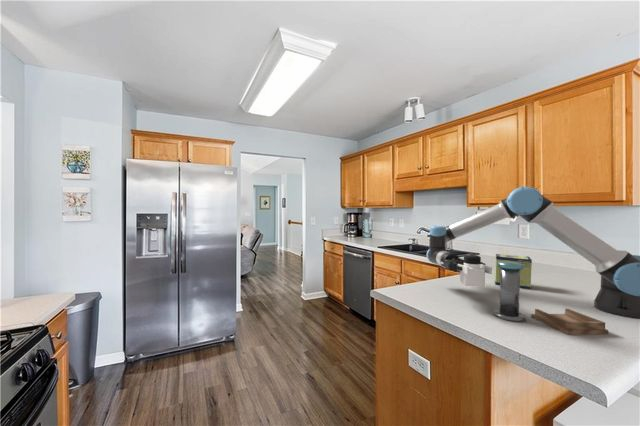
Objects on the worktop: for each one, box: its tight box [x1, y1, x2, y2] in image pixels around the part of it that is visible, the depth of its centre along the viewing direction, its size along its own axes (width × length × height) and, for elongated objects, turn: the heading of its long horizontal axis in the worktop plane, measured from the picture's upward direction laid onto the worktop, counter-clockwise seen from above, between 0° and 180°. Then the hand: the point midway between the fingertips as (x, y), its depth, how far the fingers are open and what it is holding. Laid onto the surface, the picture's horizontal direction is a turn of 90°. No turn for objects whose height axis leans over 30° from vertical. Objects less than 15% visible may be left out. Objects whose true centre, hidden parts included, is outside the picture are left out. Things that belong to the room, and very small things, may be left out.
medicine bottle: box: [459, 254, 486, 288], centre depth 111 cm, size 7×7×12 cm
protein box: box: [494, 253, 533, 290], centre depth 146 cm, size 10×16×16 cm
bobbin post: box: [492, 261, 526, 323], centre depth 101 cm, size 10×10×20 cm
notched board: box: [530, 308, 609, 336], centre depth 95 cm, size 14×14×4 cm
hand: (479, 270), depth 106 cm, fingers closed on medicine bottle, 9 cm apart
